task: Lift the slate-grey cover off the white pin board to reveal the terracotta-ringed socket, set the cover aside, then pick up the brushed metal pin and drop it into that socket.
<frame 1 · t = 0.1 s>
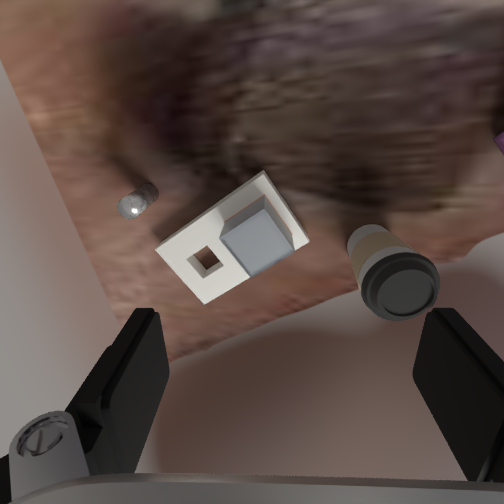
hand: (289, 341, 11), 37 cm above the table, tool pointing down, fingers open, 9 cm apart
pin: (149, 192, 47), on the table
board: (232, 238, 50), on the table
cover: (258, 228, 46), point 3 cm above the table, touching board
coffee cup: (368, 244, 50), on the table
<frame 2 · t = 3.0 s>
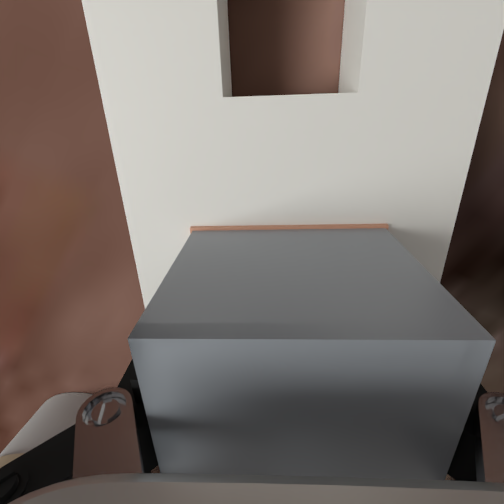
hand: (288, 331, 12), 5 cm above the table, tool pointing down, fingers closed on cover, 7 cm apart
board: (283, 171, 14), on the table
cover: (286, 309, 13), point 3 cm above the table, touching board, gripper
coffee cup: (91, 425, 22), on the table
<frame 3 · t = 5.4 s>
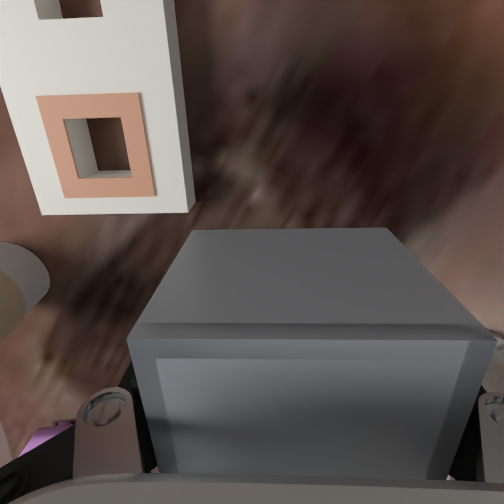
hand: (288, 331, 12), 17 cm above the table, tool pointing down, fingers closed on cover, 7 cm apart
board: (103, 74, 24), on the table
cover: (286, 309, 13), point 16 cm above the table, touching gripper
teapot: (88, 430, 42), on the table
coffee cup: (16, 272, 32), on the table
when the fingers open (3 cm above the table, at t = 8.2 s): cover drops 1 cm, on the table.
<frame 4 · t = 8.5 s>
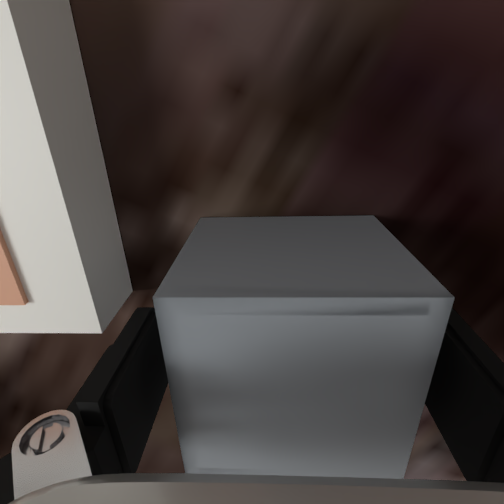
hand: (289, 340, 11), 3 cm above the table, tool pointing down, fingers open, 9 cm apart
cover: (284, 290, 14), on the table
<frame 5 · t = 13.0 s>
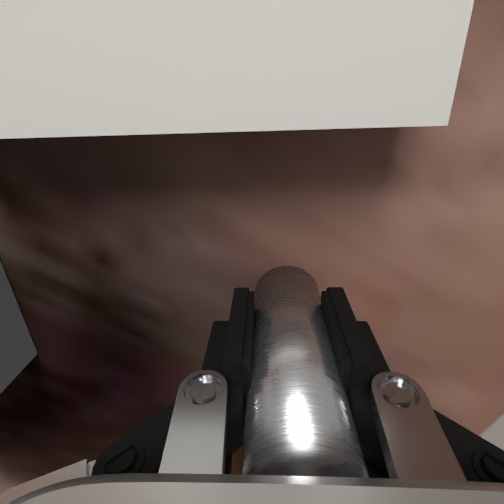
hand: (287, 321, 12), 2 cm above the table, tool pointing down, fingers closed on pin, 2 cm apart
pin: (286, 294, 14), on the table, touching gripper
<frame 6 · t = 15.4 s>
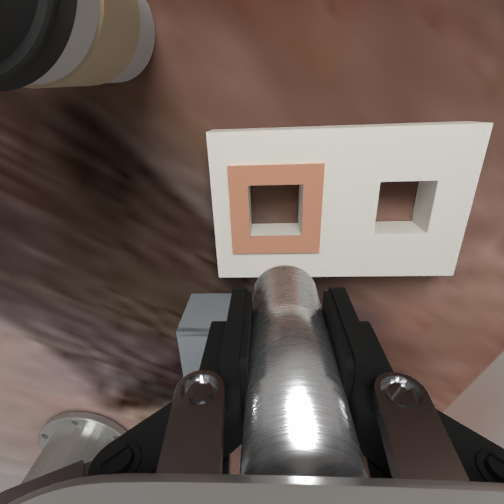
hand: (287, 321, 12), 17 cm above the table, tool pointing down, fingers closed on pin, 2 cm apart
pin: (284, 293, 14), point 15 cm above the table, touching gripper
board: (332, 199, 27), on the table
cover: (227, 321, 33), on the table
coffee cup: (110, 30, 23), on the table
when the fingers open (4 cm above the table, at t = 18.1 s): pin drops 2 cm, resting in board.
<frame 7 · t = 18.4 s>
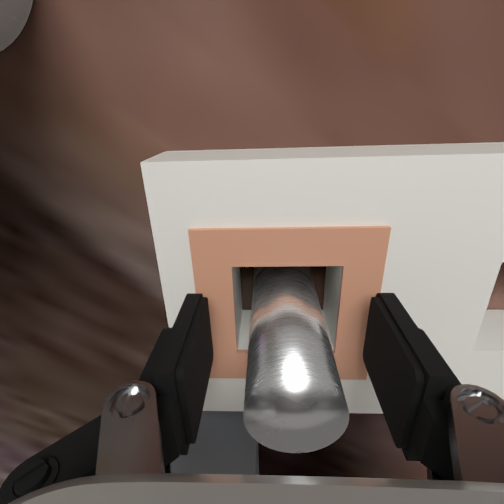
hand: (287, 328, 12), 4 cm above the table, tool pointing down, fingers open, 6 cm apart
pin: (282, 274, 16), resting in board
board: (385, 273, 15), on the table
cover: (206, 444, 21), on the table
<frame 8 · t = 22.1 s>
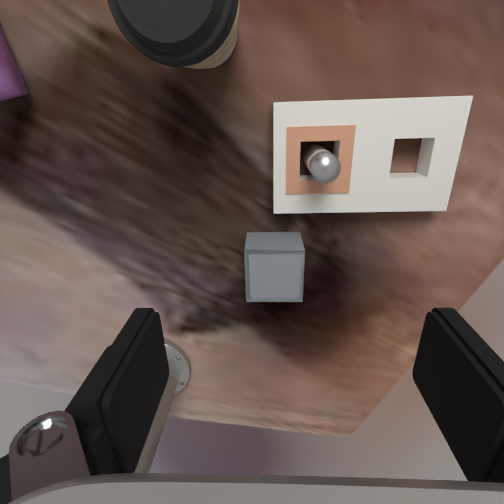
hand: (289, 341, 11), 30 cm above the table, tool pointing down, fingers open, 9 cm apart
pin: (314, 156, 38), resting in board
board: (357, 155, 37), on the table
cover: (273, 255, 43), on the table
coffee cup: (205, 31, 33), on the table
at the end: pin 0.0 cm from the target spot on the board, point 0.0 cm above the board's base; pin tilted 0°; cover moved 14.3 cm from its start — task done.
